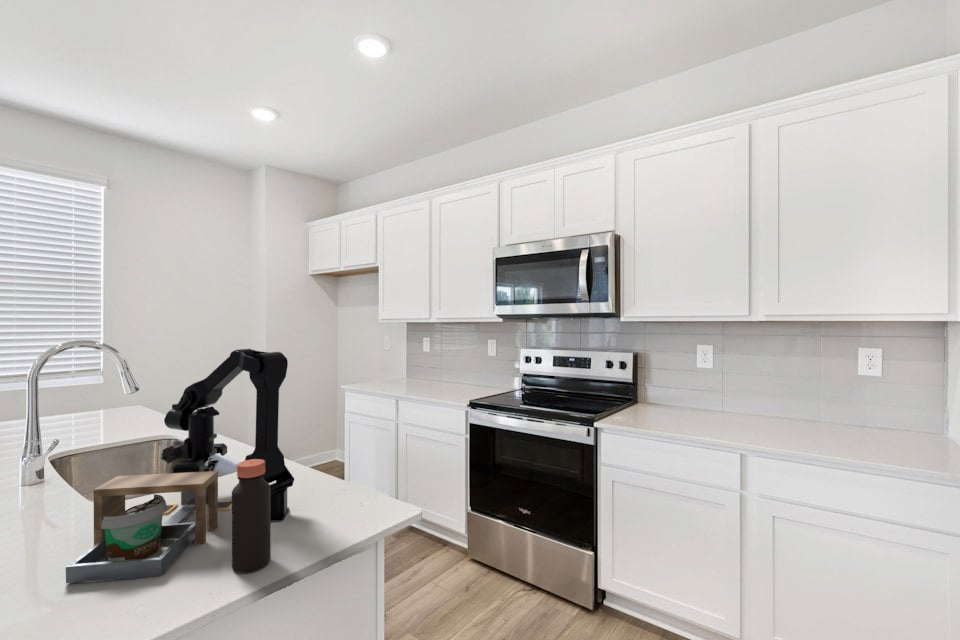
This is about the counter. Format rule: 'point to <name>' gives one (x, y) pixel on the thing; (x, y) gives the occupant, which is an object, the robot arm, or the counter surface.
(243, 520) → the bottle
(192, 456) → the robot arm
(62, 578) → the counter surface
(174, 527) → the long grey tray
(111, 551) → the food container
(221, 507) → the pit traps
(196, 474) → the tunnel
